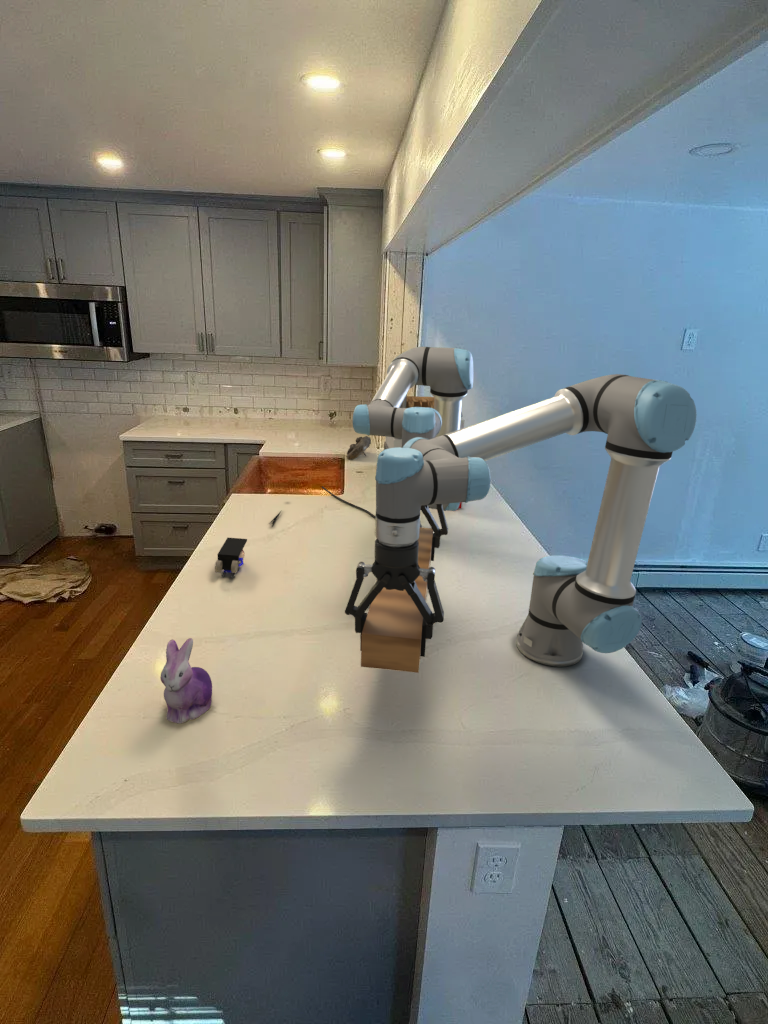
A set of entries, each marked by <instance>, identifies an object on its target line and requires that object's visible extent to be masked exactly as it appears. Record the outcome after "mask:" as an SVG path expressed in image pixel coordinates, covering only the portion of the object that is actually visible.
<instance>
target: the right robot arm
mask: <svg viewBox="0 0 768 1024" xmlns="http://www.w3.org/2000/svg"><path fill="white" fill-rule="evenodd" d="M697 414H698V413H697V407H696V404H695V401H694V399H693V398H692V396H691V394H690V392H689V391H688V390H687V389H686V388H684V387H683V386H680V385H678V384H675V383H671V382H668V381H667V380H661V379H653V378H645V377H639V376H632V375H629V374H623V373H622V374H621V373H615V374H614V373H613V374H606V375H602V376H598V377H594V378H590V379H587V380H584V381H581V382H578V383H576V384H572V385H569V386H566V387H564V388H563V387H562V388H559V389H558V390H557V391H556V392H555V394H554V396H553V397H549V398H547V399H543V400H541V401H538V402H535V403H532V404H529V405H526V406H524V407H521V408H518V409H515V410H512V411H509V412H507V413H504V414H501V415H497V416H495V417H491V418H489V419H486V420H484V421H480V422H477V423H475V424H471V425H469V426H465V427H464V428H463V429H460V430H457V431H454V432H451V433H448V434H445V435H442V436H439V437H436V438H433V439H430V440H429V439H427V438H422V437H416V438H413V439H411V440H409V441H408V442H407V443H406V444H405V445H404V446H403V448H400V447H397V448H388V449H385V450H384V449H383V450H382V451H380V452H379V454H378V456H377V461H376V469H375V470H376V472H375V478H374V479H375V516H376V518H375V523H374V537H375V538H376V539H375V540H374V560H373V563H372V564H366V563H365V562H364V561H359V562H358V563H357V566H356V569H355V576H356V577H355V578H356V579H355V582H354V584H353V588H352V590H351V593H350V595H349V598H348V601H347V603H346V606H345V609H344V614H345V615H346V616H352V617H354V632H355V633H356V634H360V639H359V640H360V641H359V645H360V646H359V647H360V652H361V639H362V631H363V627H364V624H365V621H366V617H367V614H368V612H367V610H368V609H369V607H370V604H371V603H372V602H373V600H374V599H375V598H376V596H377V595H378V594H379V593H380V592H381V590H382V589H383V588H386V590H392V589H396V590H399V591H404V590H406V592H407V593H408V595H409V596H410V597H411V598H412V600H413V602H414V603H415V605H416V607H417V608H418V610H419V612H420V613H421V615H422V617H423V623H422V638H421V656H420V658H425V657H426V649H427V640H432V638H433V634H434V625H435V623H436V624H437V623H438V624H442V623H444V620H445V619H444V618H445V612H444V608H443V604H442V601H441V598H440V597H441V596H440V594H439V590H438V587H437V583H436V579H435V578H436V568H435V567H434V566H430V568H429V569H423V568H420V567H419V565H418V548H419V542H418V538H419V529H420V522H421V506H422V505H432V504H446V503H459V502H462V503H465V504H466V503H469V502H475V501H481V500H483V499H485V497H486V496H487V495H488V494H489V491H490V489H491V480H492V479H491V471H490V467H489V465H488V464H487V461H490V460H492V459H496V458H499V457H501V456H503V455H504V456H505V455H507V454H510V453H512V452H515V451H519V450H521V449H524V448H526V447H529V446H533V445H535V444H537V443H541V442H544V441H546V440H549V439H553V438H556V437H558V436H561V435H563V434H566V435H569V436H576V435H578V434H582V433H586V432H598V433H604V434H607V435H606V440H605V446H604V450H605V451H606V453H607V454H608V455H609V457H610V462H609V465H608V466H609V467H608V471H607V474H606V480H605V484H604V489H603V492H602V497H601V502H600V505H599V510H598V515H597V519H596V523H595V527H594V532H593V537H592V540H591V544H590V545H591V546H590V550H589V554H588V559H587V561H586V560H584V559H581V558H578V557H574V556H570V555H569V556H568V555H547V556H543V557H542V558H540V559H538V560H537V561H536V564H535V568H534V571H533V573H532V575H533V577H532V585H531V592H530V600H529V606H528V607H529V608H528V613H527V615H526V617H525V619H524V621H523V623H522V625H521V626H520V628H519V630H518V632H517V635H516V641H515V643H516V647H517V649H518V651H519V652H520V653H521V654H522V655H523V656H524V657H526V658H527V659H529V660H531V661H533V662H536V663H538V664H540V665H545V666H549V667H558V668H560V667H561V668H562V667H571V666H573V665H575V664H578V663H579V662H580V661H581V659H582V658H583V652H584V645H585V646H588V647H589V648H591V649H592V650H593V651H595V652H597V653H601V654H611V653H615V652H619V651H620V650H622V649H624V648H625V647H626V646H628V645H630V643H631V642H633V640H634V639H635V638H636V637H637V635H638V634H639V633H640V630H641V628H642V624H643V617H642V614H640V611H639V610H638V608H636V607H635V606H634V601H635V597H636V595H637V589H636V587H635V586H634V584H633V583H632V582H631V580H632V576H633V572H634V569H635V565H636V561H637V557H638V553H639V549H640V545H641V541H642V537H643V532H644V529H645V525H646V521H647V517H648V515H649V511H650V510H649V509H650V505H651V502H652V498H653V494H654V490H655V486H656V482H657V478H658V475H659V471H660V467H661V466H662V465H664V464H667V462H669V461H671V459H672V455H673V452H676V451H679V449H682V448H683V447H684V446H685V445H686V441H689V440H690V439H691V437H692V435H693V433H694V431H695V428H696V426H697V425H696V424H697ZM370 573H372V574H373V576H374V577H375V578H376V581H375V582H374V583H373V585H372V587H371V588H370V590H369V591H368V592H367V594H366V595H365V596H364V598H363V599H362V600H361V602H359V604H358V605H356V601H357V598H358V596H359V593H360V591H361V588H362V586H363V585H362V584H363V582H364V580H365V578H367V577H368V576H369V574H370ZM418 576H422V578H423V581H425V582H427V588H428V592H427V593H428V595H429V599H430V601H431V605H432V609H433V611H432V609H431V608H430V606H429V604H428V603H427V601H425V599H424V598H423V596H422V594H421V592H420V591H419V589H418V587H417V584H416V582H415V580H416V579H417V578H418Z"/></svg>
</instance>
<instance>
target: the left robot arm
mask: <svg viewBox="0 0 768 1024" xmlns="http://www.w3.org/2000/svg"><path fill="white" fill-rule="evenodd" d="M474 375H475V374H474V359H473V355H472V352H471V351H470V350H468V349H465V348H464V349H463V348H457V347H441V346H439V347H437V346H416V347H412V348H410V349H407V350H405V351H403V352H402V353H400V354H398V355H397V356H396V357H395V358H394V359H393V360H392V361H391V362H390V363H389V365H388V367H387V371H386V376H385V378H384V380H383V381H382V382H381V385H380V386H379V388H378V390H377V391H376V393H375V395H374V396H373V398H372V399H371V401H370V403H369V404H366V403H365V404H357V405H356V406H355V407H354V410H353V412H352V428H353V431H354V432H355V433H356V434H360V435H365V436H368V437H370V436H375V437H385V438H386V437H395V438H402V448H403V446H404V445H405V444H406V443H407V442H408V441H409V440H411V439H413V438H416V437H422V438H427V439H429V440H430V439H433V438H436V437H439V436H442V435H445V434H448V433H451V432H454V431H457V430H460V420H461V418H462V417H461V412H462V406H463V399H465V397H466V396H467V395H468V391H470V390H472V389H473V386H474ZM415 386H423V387H429V389H430V390H429V394H430V395H431V397H434V398H435V401H434V409H433V408H429V407H426V408H425V407H411V408H400V406H401V404H402V402H403V400H404V398H405V396H406V394H408V393H409V390H410V389H412V388H413V387H415ZM321 488H322V489H323V490H324V491H325V492H327V493H328V494H330V495H331V496H332V497H334V498H336V499H337V500H339V501H341V502H343V503H345V504H347V505H349V506H352V507H354V508H356V509H359V510H361V511H363V512H365V513H367V514H368V515H369V516H371V517H373V518H374V519H376V515H374V514H373V513H371V511H369V510H367V509H365V508H363V507H360V506H358V505H355V504H353V503H351V502H349V501H346V500H345V499H343V498H340V496H337V495H335V494H334V493H332V492H331V491H329V490H328V489H327V488H326V487H324V486H323V485H322V486H321ZM459 505H460V502H459V503H446V504H432V505H422V506H421V510H420V512H421V513H422V514H423V515H424V517H425V519H426V521H427V522H428V525H429V526H430V528H432V530H433V537H432V551H431V562H434V561H435V551H436V549H439V548H440V546H441V537H442V536H447V535H448V533H449V527H448V522H447V519H446V515H445V512H446V511H447V512H456V511H457V510H458V509H459ZM431 509H432V510H436V511H437V515H438V520H439V523H440V527H441V528H440V527H439V525H438V522H437V521H436V519H435V517H434V516H433V514H432V512H431ZM420 527H422V528H423V525H422V524H421V521H420Z"/></svg>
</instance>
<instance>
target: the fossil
mask: <svg viewBox="0 0 768 1024" xmlns="http://www.w3.org/2000/svg"><path fill="white" fill-rule="evenodd" d="M371 445H372V439H371V437H370V436H368V435H365V436H358V437H356V439H355V443H351V444H350V445H349V448H348V449H347V451H346V452H347V453H346V458H347V460H350V461H352V460H354V459H356V458H358V457H359V456H361V455H362V454H363V455H364V457H366V456H367V455H366V453H365V451H366V450H367V449H368V448H370V446H371Z"/></svg>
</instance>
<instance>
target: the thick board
mask: <svg viewBox="0 0 768 1024" xmlns="http://www.w3.org/2000/svg"><path fill="white" fill-rule="evenodd" d="M433 533H434V532H433V530H432V528H431V527H423V526H422V527H420V529H419V538H418V542H419V548H418V565H419V567H420V568H423V569H429V568H430V567H431V563H432V561H431V551H432V537H433ZM415 582H416V584H417V587H418V589H419V591H420V592H421V594H422V596H423V598H424V599H425V601H426V602H427V601H428V593H429V592H428V588H427V582H425V581H423V578H422V576H418V578H417V579H416V580H415ZM422 623H423V617H422V615H421V613H420V612H419V610H418V608H417V607H416V605H415V603H414V602H413V600H412V598H411V597H410V596H409V595H408V593H407V592H406V590H404V591H399V590H396V589H392V590H386V588H383V589H382V590H381V592H380V593H379V594H378V595H377V596H376V598H375V599H374V600H373V602H372V603H371V604H370V606H369V607H368V611H367V617H366V621H365V624H364V627H363V631H362V639H361V651H360V668H368V669H377V670H378V669H379V670H388V671H389V670H390V671H399V672H406V673H417V674H419V672H420V663H421V638H422Z"/></svg>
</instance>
